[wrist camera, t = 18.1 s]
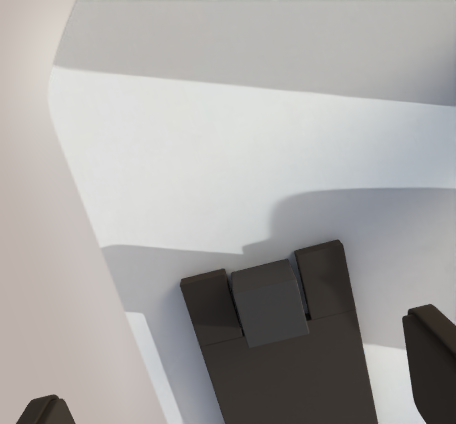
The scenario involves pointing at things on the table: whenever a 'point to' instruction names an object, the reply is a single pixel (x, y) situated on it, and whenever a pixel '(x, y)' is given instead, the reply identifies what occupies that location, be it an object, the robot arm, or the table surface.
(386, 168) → the table surface
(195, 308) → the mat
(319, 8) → the table surface
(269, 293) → the dark block
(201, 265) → the table surface
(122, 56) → the table surface
